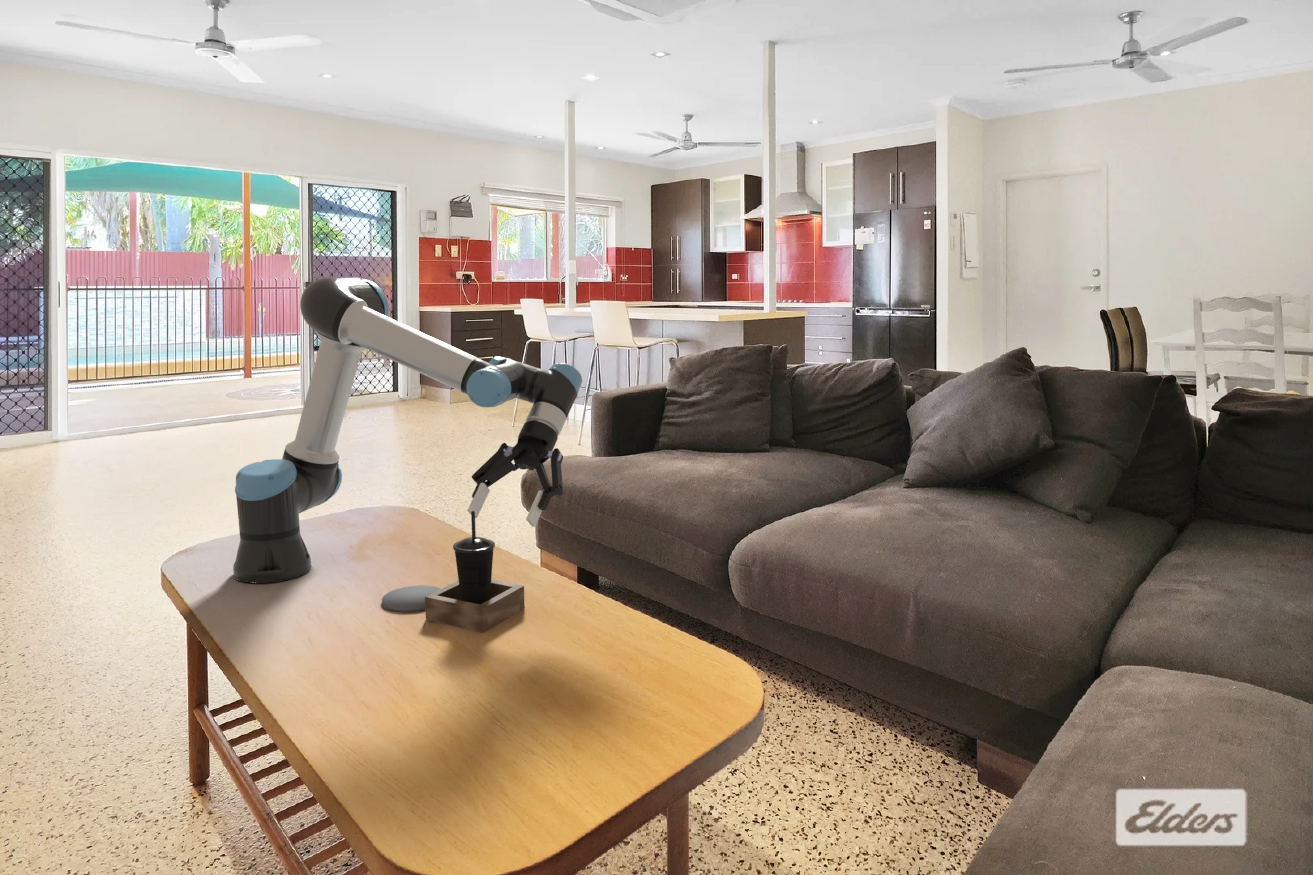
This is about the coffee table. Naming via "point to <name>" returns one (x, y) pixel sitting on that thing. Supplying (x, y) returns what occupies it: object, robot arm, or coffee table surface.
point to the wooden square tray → (474, 606)
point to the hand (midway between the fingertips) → (500, 518)
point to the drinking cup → (474, 566)
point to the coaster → (407, 598)
